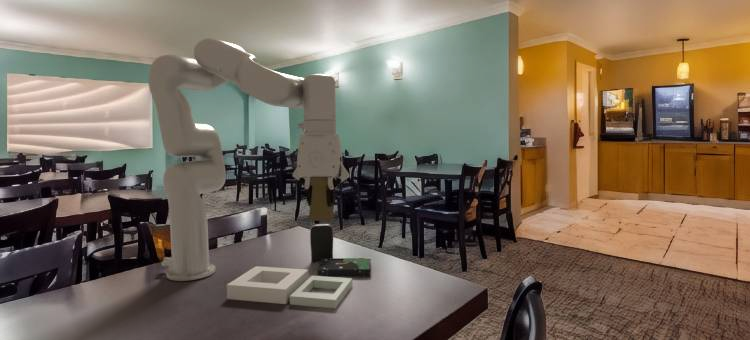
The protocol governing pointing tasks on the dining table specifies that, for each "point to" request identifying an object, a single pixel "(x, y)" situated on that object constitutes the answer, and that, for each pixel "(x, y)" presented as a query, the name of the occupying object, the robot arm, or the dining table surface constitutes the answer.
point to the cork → (320, 200)
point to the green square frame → (320, 299)
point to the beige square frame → (267, 284)
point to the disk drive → (344, 267)
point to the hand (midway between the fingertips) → (321, 204)
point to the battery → (321, 242)
